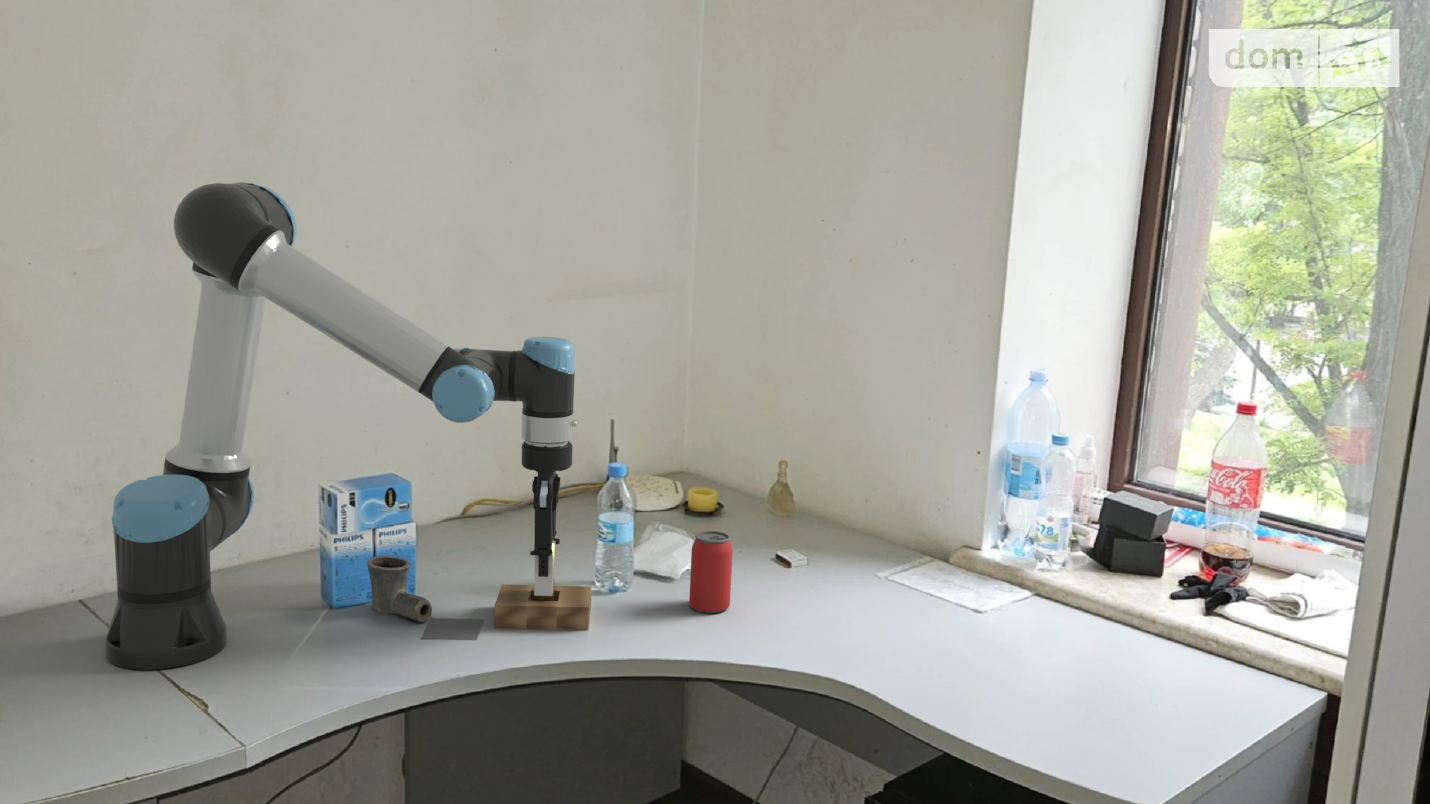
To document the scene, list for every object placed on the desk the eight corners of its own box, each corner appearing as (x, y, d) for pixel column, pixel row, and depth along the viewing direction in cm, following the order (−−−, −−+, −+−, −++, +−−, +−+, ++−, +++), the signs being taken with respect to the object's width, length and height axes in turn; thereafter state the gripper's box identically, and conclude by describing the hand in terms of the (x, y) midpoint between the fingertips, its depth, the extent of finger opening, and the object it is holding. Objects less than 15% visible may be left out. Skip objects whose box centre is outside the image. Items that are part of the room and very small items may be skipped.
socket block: (494, 630, 169) (494, 605, 168) (501, 608, 178) (501, 584, 177) (588, 632, 170) (588, 607, 169) (590, 610, 179) (591, 586, 178)
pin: (533, 619, 172) (534, 544, 170) (535, 612, 175) (536, 538, 173) (553, 620, 172) (554, 545, 170) (554, 613, 175) (556, 538, 173)
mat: (420, 641, 164) (420, 638, 164) (430, 620, 171) (430, 618, 171) (476, 642, 164) (476, 639, 164) (483, 621, 172) (483, 619, 172)
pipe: (409, 631, 167) (409, 580, 166) (357, 609, 175) (356, 560, 173) (442, 620, 172) (442, 570, 170) (389, 599, 179) (389, 551, 178)
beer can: (729, 615, 179) (733, 543, 177) (688, 613, 179) (691, 541, 177) (729, 601, 186) (733, 531, 183) (690, 598, 186) (693, 528, 183)
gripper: (569, 454, 161) (565, 610, 165) (575, 430, 177) (572, 573, 181) (516, 452, 160) (513, 609, 165) (527, 429, 176) (524, 572, 180)
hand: (544, 590), depth 173 cm, fingers closed on pin, 3 cm apart
